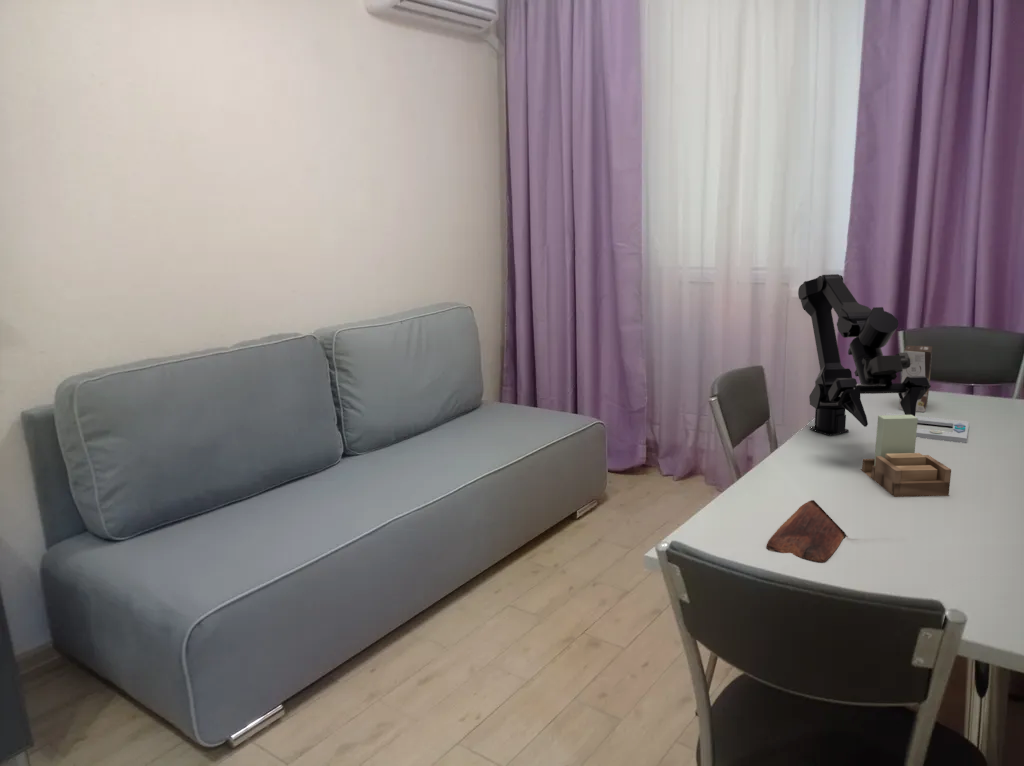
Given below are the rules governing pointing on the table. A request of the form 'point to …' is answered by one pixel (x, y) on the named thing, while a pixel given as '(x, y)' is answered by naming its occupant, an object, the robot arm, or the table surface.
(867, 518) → the table surface
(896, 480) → the offcut rack
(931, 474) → the small oak offcut
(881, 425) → the tall board
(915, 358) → the coffee box
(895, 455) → the oak offcut
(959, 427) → the electronic device
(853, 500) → the table surface
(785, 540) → the wooden tablet
